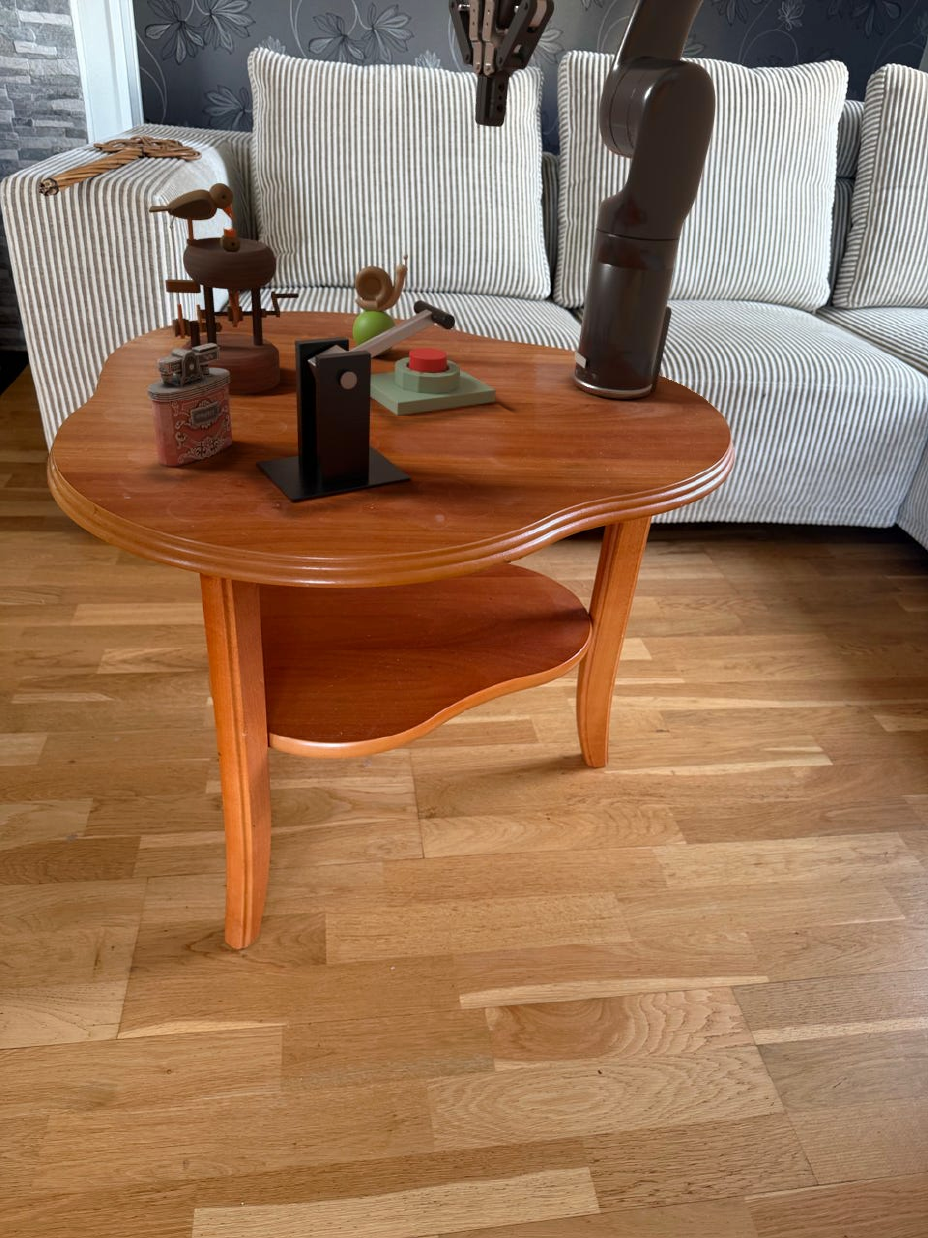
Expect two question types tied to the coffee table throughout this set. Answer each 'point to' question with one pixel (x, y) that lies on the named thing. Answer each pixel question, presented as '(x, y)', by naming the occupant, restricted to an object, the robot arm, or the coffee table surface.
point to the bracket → (332, 427)
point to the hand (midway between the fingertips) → (489, 125)
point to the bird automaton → (233, 270)
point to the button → (427, 360)
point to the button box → (428, 389)
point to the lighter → (191, 407)
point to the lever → (399, 331)
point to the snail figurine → (376, 301)
